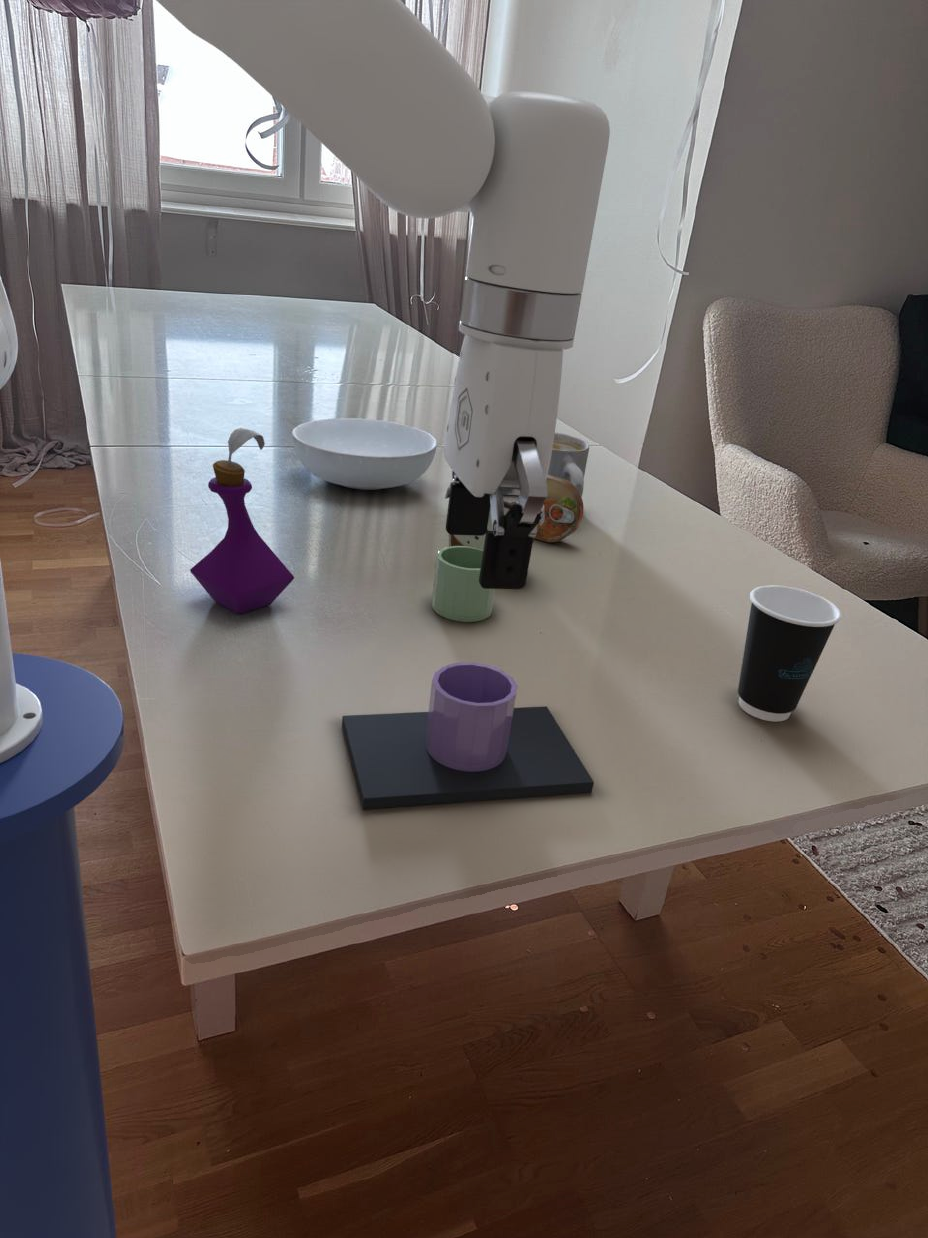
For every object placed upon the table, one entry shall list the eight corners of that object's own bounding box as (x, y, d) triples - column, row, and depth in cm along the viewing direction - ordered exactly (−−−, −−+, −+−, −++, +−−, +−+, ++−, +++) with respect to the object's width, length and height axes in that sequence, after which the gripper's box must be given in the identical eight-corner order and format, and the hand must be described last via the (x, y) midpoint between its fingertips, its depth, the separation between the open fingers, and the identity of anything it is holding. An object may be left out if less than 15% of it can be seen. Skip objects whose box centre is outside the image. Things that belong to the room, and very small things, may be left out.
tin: (472, 519, 123) (479, 460, 119) (483, 514, 125) (491, 455, 121) (570, 550, 116) (581, 488, 113) (580, 544, 119) (591, 483, 115)
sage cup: (439, 622, 93) (445, 569, 91) (426, 595, 99) (431, 545, 96) (498, 621, 95) (506, 569, 92) (482, 595, 100) (488, 545, 98)
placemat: (362, 809, 65) (363, 798, 64) (341, 725, 74) (342, 715, 74) (592, 792, 70) (594, 782, 69) (545, 715, 79) (546, 706, 79)
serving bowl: (385, 455, 146) (388, 413, 143) (460, 496, 131) (465, 450, 128) (266, 465, 134) (267, 419, 131) (334, 511, 119) (336, 461, 116)
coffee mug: (503, 495, 134) (512, 429, 129) (565, 497, 136) (576, 433, 132) (526, 527, 122) (537, 456, 118) (594, 529, 125) (607, 460, 120)
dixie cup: (739, 677, 90) (768, 577, 85) (818, 709, 86) (852, 605, 81) (708, 706, 84) (737, 600, 79) (791, 741, 80) (826, 632, 75)
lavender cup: (436, 774, 68) (444, 707, 65) (417, 727, 73) (424, 663, 71) (516, 769, 70) (528, 703, 67) (493, 723, 75) (502, 660, 72)
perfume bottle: (234, 625, 87) (234, 445, 80) (189, 599, 92) (185, 425, 84) (294, 606, 93) (300, 435, 85) (249, 581, 97) (251, 416, 89)
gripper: (433, 290, 64) (408, 515, 72) (502, 333, 49) (462, 611, 57) (531, 301, 66) (497, 518, 74) (625, 345, 51) (571, 612, 59)
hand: (482, 558), depth 65 cm, fingers open, 9 cm apart
